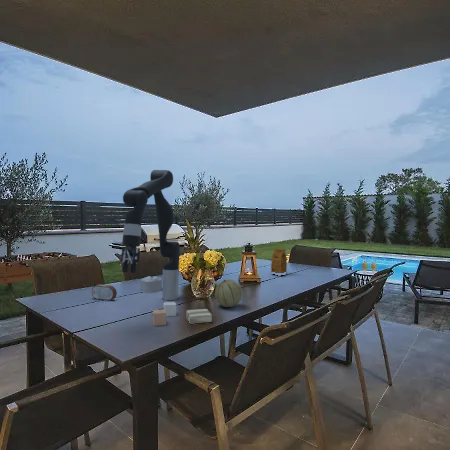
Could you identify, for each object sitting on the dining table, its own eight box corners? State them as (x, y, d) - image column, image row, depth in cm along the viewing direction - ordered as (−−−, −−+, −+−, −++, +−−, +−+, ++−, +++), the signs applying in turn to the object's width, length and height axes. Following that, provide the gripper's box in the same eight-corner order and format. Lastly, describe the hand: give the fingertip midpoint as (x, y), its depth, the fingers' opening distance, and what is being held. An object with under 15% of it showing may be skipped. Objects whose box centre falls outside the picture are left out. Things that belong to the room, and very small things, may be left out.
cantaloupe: (247, 306, 175) (248, 279, 174) (229, 312, 164) (230, 283, 163) (227, 301, 184) (227, 275, 184) (208, 306, 173) (209, 278, 173)
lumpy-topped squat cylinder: (139, 290, 208) (139, 276, 208) (156, 287, 217) (157, 274, 216) (146, 293, 200) (146, 279, 200) (165, 290, 209) (165, 277, 209)
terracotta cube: (152, 322, 148) (152, 310, 148) (165, 321, 149) (165, 309, 149) (153, 326, 143) (153, 313, 142) (166, 325, 144) (166, 312, 144)
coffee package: (277, 273, 276) (277, 247, 275) (288, 275, 266) (288, 249, 265) (268, 274, 270) (269, 248, 269) (279, 277, 260) (280, 249, 259)
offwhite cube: (163, 313, 161) (163, 302, 161) (174, 312, 163) (174, 301, 162) (164, 316, 156) (164, 305, 156) (176, 315, 157) (176, 304, 157)
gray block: (186, 318, 155) (186, 310, 154) (206, 317, 157) (206, 308, 157) (189, 325, 145) (190, 316, 145) (211, 323, 148) (211, 315, 148)
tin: (116, 300, 184) (117, 285, 184) (113, 301, 181) (113, 286, 181) (94, 297, 188) (94, 283, 188) (90, 299, 185) (90, 284, 185)
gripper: (147, 235, 138) (143, 273, 136) (133, 236, 149) (130, 272, 147) (130, 233, 134) (126, 272, 131) (117, 235, 145) (113, 271, 142)
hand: (128, 272), depth 139 cm, fingers open, 8 cm apart
